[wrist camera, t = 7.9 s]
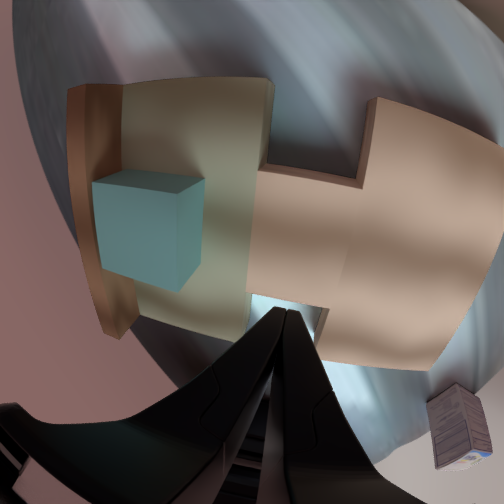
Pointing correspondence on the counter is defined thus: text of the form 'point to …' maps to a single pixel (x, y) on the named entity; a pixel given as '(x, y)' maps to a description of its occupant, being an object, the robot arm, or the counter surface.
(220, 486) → the robot arm
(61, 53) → the counter surface
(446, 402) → the medicine box
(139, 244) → the teal block
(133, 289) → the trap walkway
